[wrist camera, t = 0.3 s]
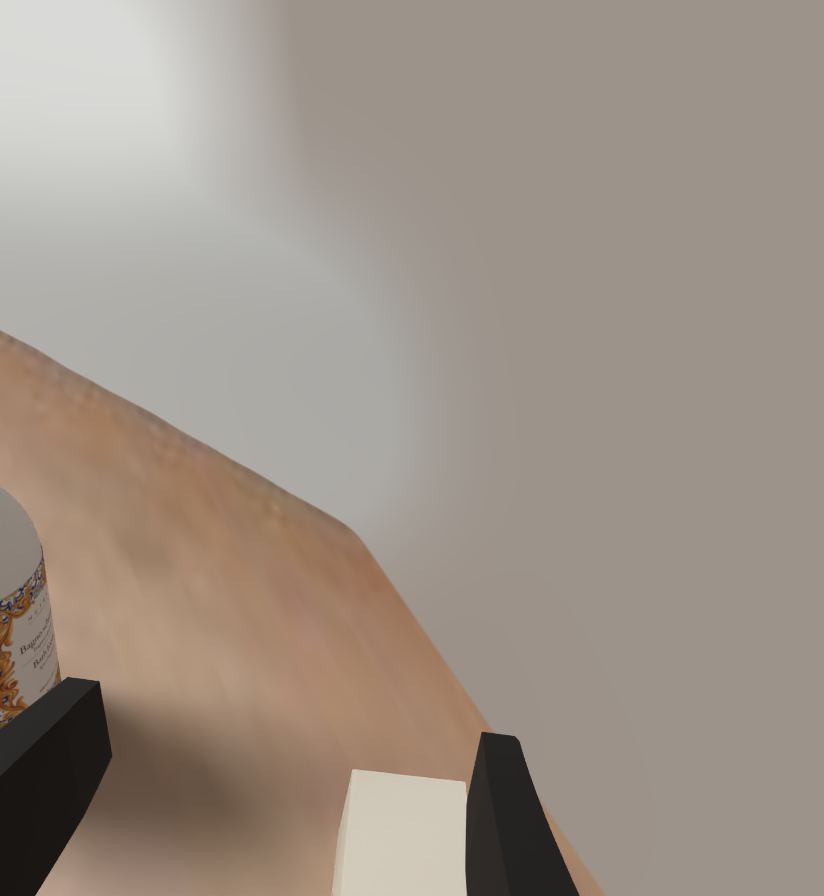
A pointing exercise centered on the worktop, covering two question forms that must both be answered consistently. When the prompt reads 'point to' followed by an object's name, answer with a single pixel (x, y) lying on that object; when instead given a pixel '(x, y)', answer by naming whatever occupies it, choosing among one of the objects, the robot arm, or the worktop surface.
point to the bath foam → (23, 614)
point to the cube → (401, 837)
